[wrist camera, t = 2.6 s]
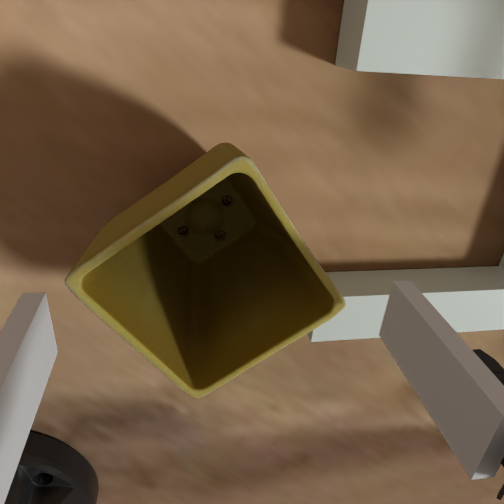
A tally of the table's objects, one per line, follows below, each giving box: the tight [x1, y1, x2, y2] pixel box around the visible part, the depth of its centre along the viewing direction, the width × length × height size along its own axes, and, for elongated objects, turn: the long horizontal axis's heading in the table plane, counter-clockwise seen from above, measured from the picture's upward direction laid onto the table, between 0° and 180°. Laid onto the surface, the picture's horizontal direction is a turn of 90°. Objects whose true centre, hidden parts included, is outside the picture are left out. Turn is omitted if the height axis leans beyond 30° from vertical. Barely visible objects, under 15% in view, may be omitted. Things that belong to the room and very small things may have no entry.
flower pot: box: [65, 143, 346, 399], centre depth 21 cm, size 9×9×9 cm
